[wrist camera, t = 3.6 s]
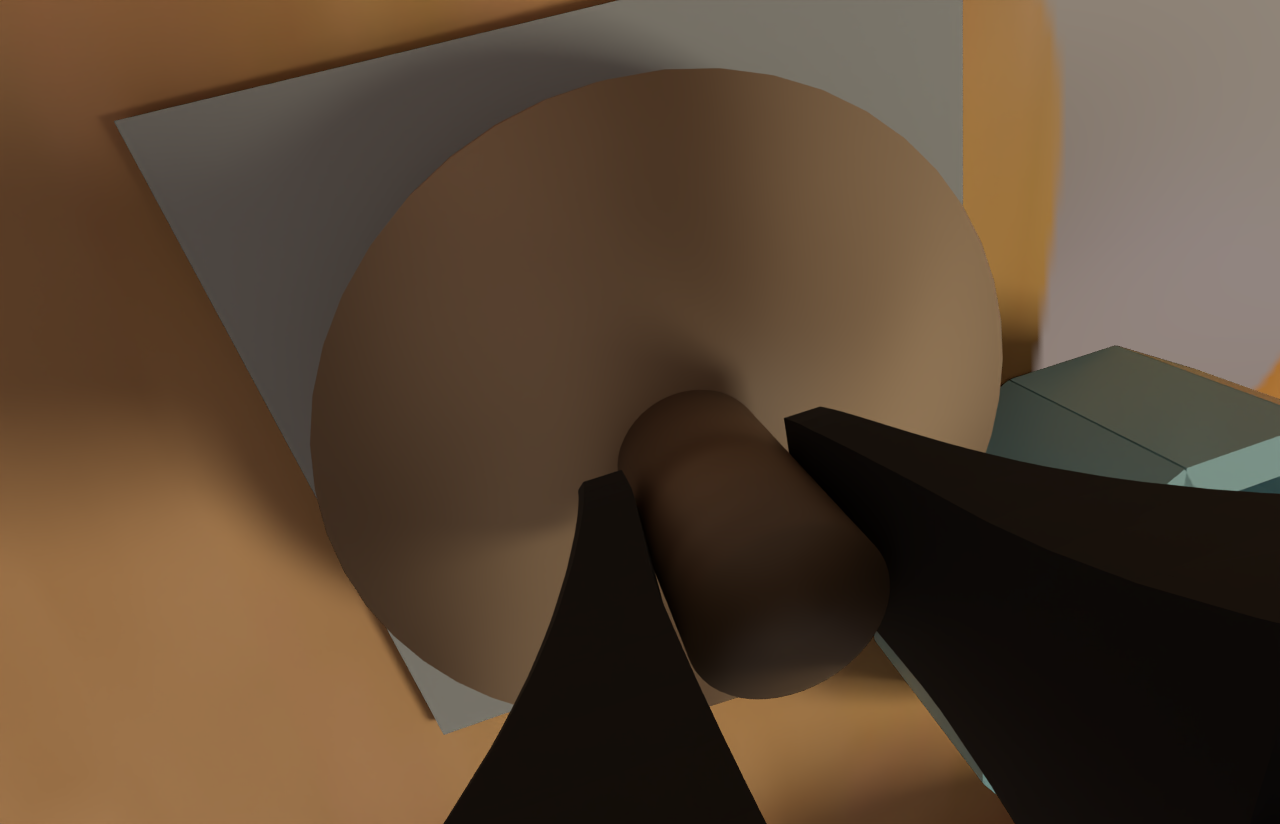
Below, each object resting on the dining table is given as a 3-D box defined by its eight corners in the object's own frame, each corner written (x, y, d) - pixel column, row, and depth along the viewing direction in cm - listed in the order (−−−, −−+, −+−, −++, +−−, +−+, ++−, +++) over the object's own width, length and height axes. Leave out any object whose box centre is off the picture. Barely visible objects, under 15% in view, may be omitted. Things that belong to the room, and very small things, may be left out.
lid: (468, 761, 14) (466, 1041, 10) (165, 192, 9) (-122, 268, 5) (972, 580, 15) (1162, 759, 11) (974, -15, 10) (1341, -107, 6)
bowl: (882, 732, 21) (980, 883, 17) (856, 428, 16) (987, 537, 12) (1189, 617, 22) (1351, 732, 18) (1255, 300, 17) (1499, 359, 13)
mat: (444, 721, 16) (443, 734, 16) (126, 120, 10) (113, 121, 10) (953, 544, 18) (963, 553, 18) (947, -76, 12) (962, -83, 11)
